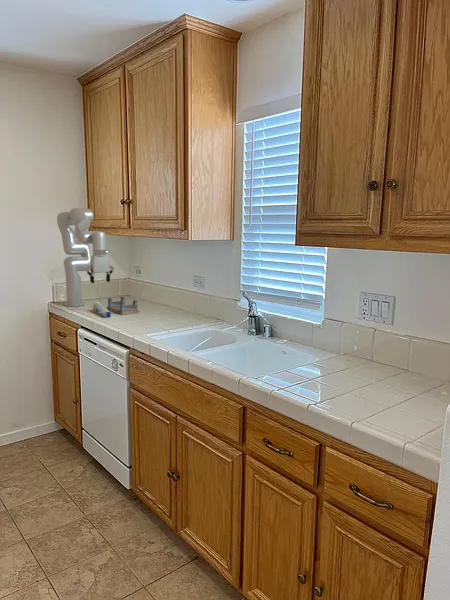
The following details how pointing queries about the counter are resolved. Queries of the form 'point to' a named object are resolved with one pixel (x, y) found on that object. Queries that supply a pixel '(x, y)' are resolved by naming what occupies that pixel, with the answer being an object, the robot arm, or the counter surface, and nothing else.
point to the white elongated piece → (101, 309)
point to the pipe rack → (122, 307)
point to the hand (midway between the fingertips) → (100, 282)
